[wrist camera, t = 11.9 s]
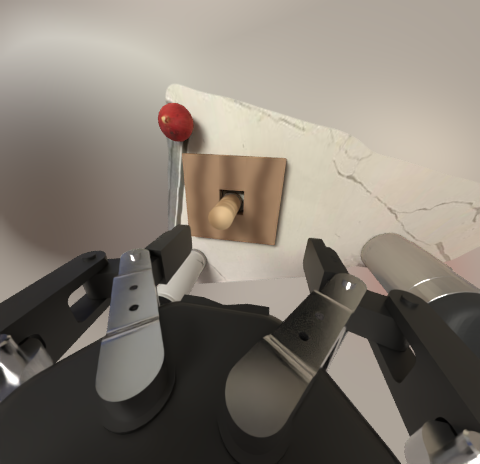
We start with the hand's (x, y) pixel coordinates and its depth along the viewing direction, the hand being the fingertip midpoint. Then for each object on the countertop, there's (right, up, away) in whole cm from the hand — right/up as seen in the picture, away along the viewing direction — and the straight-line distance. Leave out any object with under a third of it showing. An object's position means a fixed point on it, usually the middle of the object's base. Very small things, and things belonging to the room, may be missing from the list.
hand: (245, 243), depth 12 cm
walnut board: (-2, +8, +28) cm, 29 cm away
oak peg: (-2, +8, +28) cm, 29 cm away
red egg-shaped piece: (-11, +22, +23) cm, 34 cm away
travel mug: (-12, -6, +37) cm, 39 cm away
